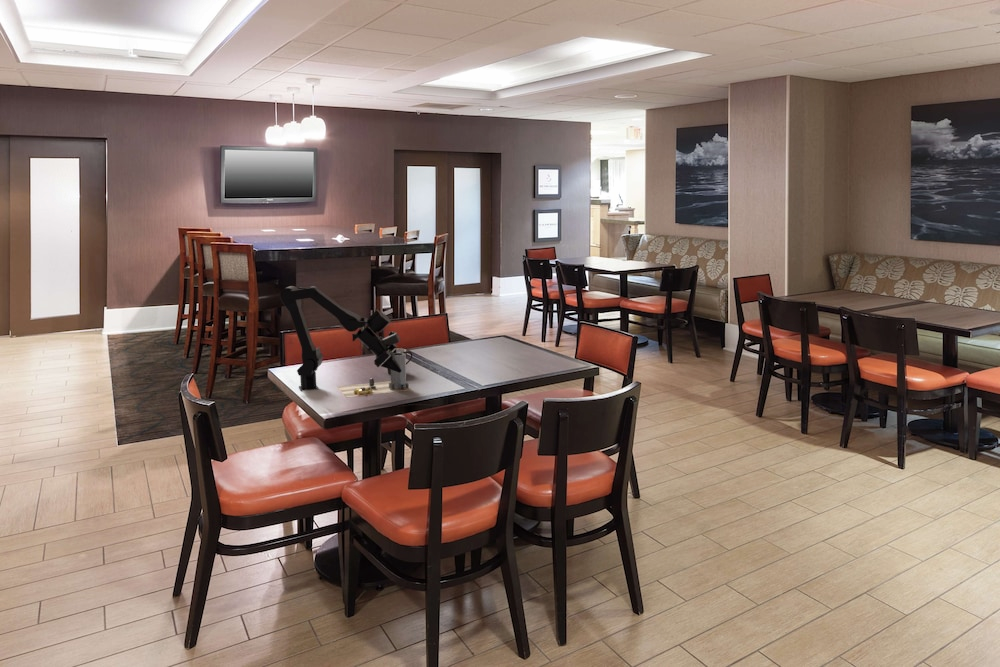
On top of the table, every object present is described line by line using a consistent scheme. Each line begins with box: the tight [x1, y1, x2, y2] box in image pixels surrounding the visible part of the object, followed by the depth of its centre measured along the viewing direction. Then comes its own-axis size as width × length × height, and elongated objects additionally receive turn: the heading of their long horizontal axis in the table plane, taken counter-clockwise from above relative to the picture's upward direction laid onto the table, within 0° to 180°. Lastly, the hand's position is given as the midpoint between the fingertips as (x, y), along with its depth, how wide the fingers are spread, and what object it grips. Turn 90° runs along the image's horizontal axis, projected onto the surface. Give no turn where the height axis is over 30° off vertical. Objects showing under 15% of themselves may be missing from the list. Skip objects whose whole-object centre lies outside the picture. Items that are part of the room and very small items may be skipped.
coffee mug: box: [386, 347, 413, 376], centre depth 304 cm, size 12×9×10 cm
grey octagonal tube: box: [389, 353, 410, 391], centre depth 281 cm, size 7×7×13 cm
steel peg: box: [368, 377, 376, 389], centre depth 282 cm, size 3×3×4 cm
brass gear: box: [354, 387, 372, 396], centre depth 275 cm, size 7×7×2 cm
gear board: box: [337, 380, 413, 398], centre depth 281 cm, size 16×25×1 cm, turn 114°
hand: (402, 369), depth 281 cm, fingers closed on grey octagonal tube, 5 cm apart
